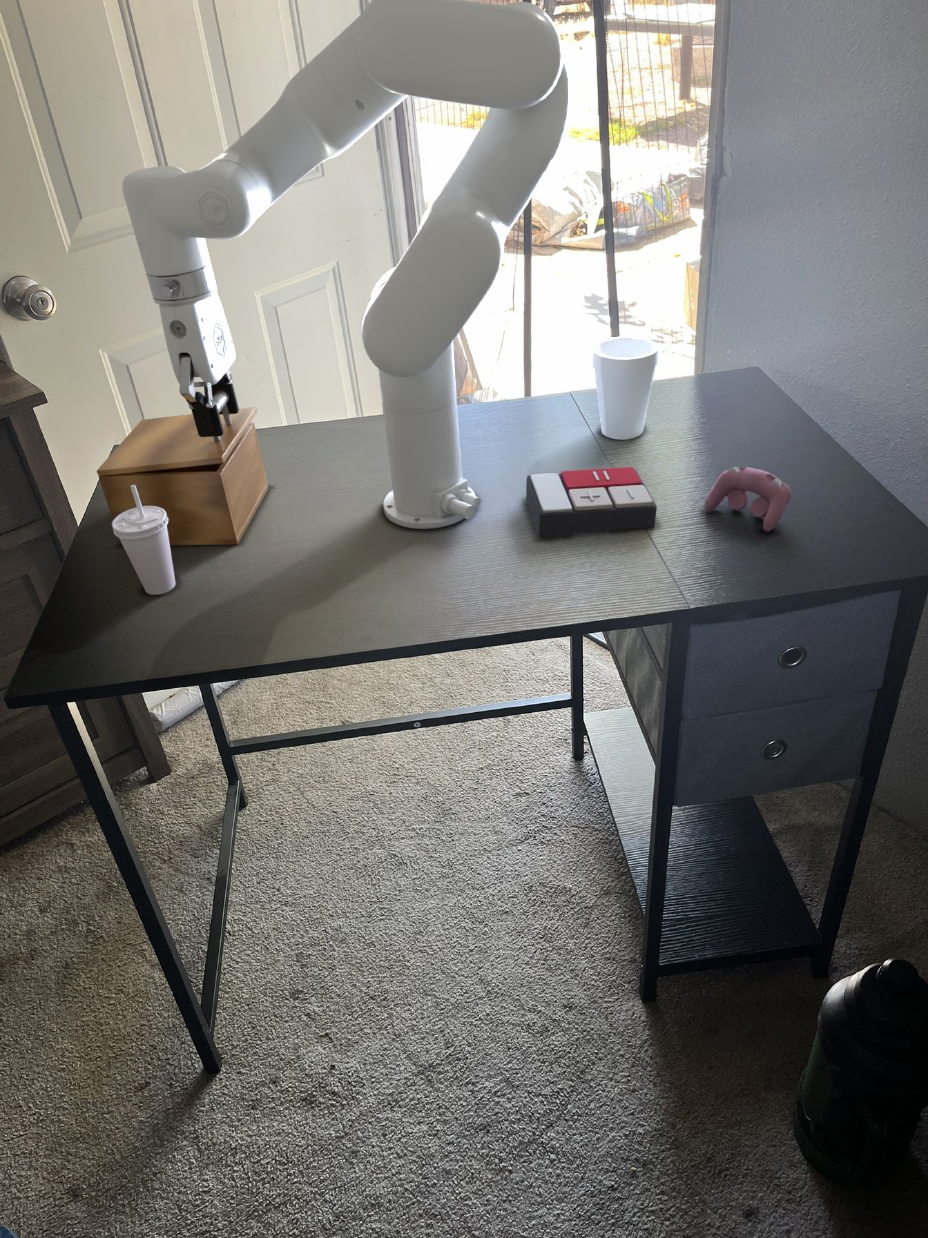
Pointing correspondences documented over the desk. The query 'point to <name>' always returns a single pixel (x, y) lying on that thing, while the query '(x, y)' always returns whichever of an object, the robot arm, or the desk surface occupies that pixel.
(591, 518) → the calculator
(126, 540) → the smoothie
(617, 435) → the foam cup
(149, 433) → the box lid
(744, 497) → the video game controller
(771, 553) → the desk surface
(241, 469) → the box
